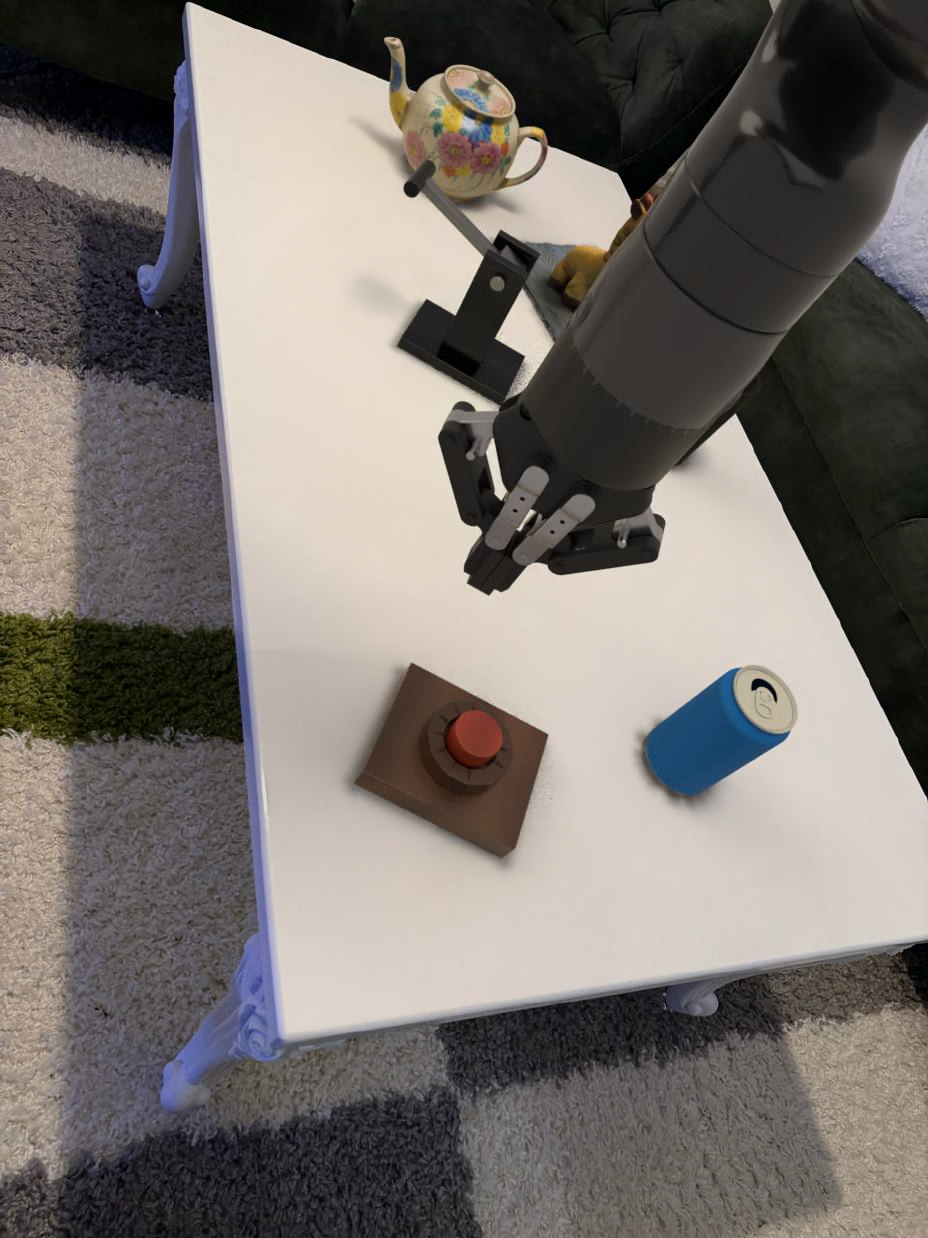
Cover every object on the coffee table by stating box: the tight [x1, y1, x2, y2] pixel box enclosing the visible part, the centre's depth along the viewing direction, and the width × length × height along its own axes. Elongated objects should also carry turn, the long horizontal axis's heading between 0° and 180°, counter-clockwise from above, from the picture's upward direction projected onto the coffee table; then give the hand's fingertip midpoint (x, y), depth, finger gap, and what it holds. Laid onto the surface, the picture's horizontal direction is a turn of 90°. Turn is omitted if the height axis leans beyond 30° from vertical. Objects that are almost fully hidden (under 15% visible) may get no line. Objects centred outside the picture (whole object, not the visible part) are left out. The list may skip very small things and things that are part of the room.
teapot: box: [383, 36, 549, 204], centre depth 103 cm, size 20×14×13 cm
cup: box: [673, 373, 762, 467], centre depth 93 cm, size 8×8×12 cm
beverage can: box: [645, 664, 799, 796], centre depth 70 cm, size 6×6×12 cm
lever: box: [402, 160, 527, 270], centre depth 82 cm, size 13×5×2 cm, turn 71°
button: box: [446, 710, 503, 767], centre depth 62 cm, size 4×4×2 cm
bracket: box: [396, 229, 540, 407], centre depth 87 cm, size 12×8×13 cm, turn 71°
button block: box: [353, 662, 549, 859], centre depth 64 cm, size 12×10×4 cm
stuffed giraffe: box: [523, 192, 660, 341], centre depth 101 cm, size 16×18×16 cm
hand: (481, 578), depth 50 cm, fingers closed
